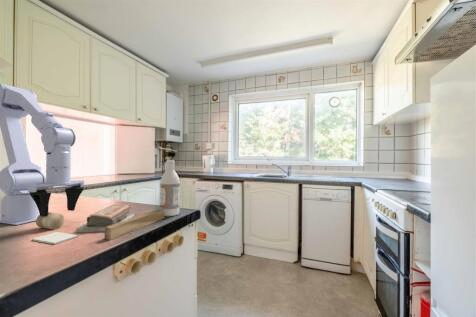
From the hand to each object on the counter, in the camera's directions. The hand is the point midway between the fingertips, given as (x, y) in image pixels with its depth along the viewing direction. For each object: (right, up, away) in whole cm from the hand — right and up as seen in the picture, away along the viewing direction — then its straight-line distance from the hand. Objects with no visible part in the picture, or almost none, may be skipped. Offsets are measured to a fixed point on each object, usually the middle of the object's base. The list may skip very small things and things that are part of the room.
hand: (58, 213), depth 68 cm
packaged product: (+13, -5, +4) cm, 15 cm away
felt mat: (+8, -4, -10) cm, 13 cm away
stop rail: (+24, -4, 0) cm, 25 cm away
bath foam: (+29, -5, +16) cm, 33 cm away
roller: (0, -3, 0) cm, 3 cm away
